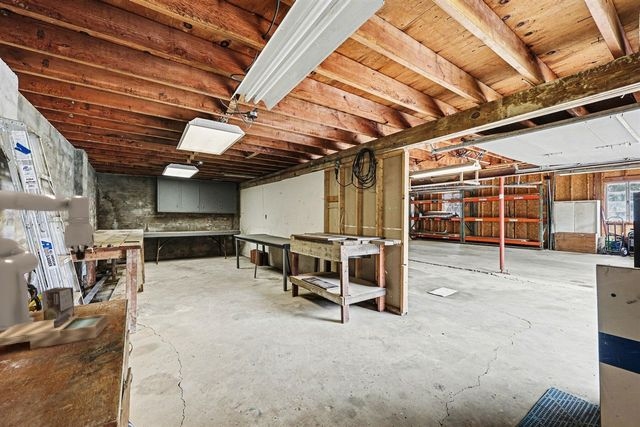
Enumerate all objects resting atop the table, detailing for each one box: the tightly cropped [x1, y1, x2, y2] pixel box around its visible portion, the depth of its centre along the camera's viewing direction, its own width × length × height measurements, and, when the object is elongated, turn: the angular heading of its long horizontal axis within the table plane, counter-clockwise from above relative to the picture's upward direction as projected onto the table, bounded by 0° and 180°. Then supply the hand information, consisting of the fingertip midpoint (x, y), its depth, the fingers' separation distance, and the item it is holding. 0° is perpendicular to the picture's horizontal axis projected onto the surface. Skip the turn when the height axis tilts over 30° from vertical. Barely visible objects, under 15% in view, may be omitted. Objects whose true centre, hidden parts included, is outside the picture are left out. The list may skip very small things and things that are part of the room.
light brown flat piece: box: [0, 313, 79, 346], centre depth 109 cm, size 20×16×5 cm
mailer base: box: [29, 313, 109, 350], centre depth 113 cm, size 20×14×5 cm
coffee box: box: [41, 286, 76, 321], centre depth 125 cm, size 9×6×16 cm
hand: (80, 259), depth 131 cm, fingers closed
